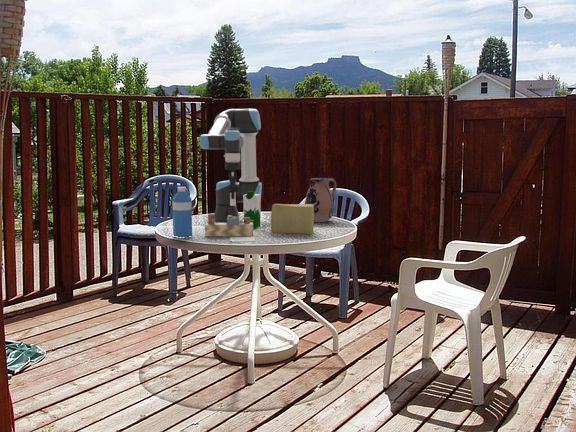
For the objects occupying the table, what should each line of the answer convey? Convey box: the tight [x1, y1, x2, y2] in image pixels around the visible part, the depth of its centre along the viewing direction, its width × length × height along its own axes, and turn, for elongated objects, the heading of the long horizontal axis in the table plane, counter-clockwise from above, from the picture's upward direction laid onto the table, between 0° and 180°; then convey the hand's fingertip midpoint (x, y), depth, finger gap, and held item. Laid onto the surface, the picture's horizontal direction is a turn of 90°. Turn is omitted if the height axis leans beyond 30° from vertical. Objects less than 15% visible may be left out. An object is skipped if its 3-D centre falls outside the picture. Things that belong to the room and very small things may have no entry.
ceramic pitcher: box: [304, 177, 337, 223], centre depth 365 cm, size 18×21×25 cm
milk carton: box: [242, 191, 262, 229], centre depth 343 cm, size 9×9×20 cm
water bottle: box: [172, 186, 193, 237], centre depth 312 cm, size 9×9×25 cm
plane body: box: [204, 213, 254, 237], centre depth 318 cm, size 24×6×11 cm, turn 95°
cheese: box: [270, 203, 315, 235], centre depth 326 cm, size 22×10×15 cm, turn 84°
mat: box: [229, 236, 256, 243], centre depth 306 cm, size 12×12×1 cm
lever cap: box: [226, 215, 240, 225], centre depth 318 cm, size 6×10×4 cm, turn 5°
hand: (232, 204), depth 316 cm, fingers open, 13 cm apart
